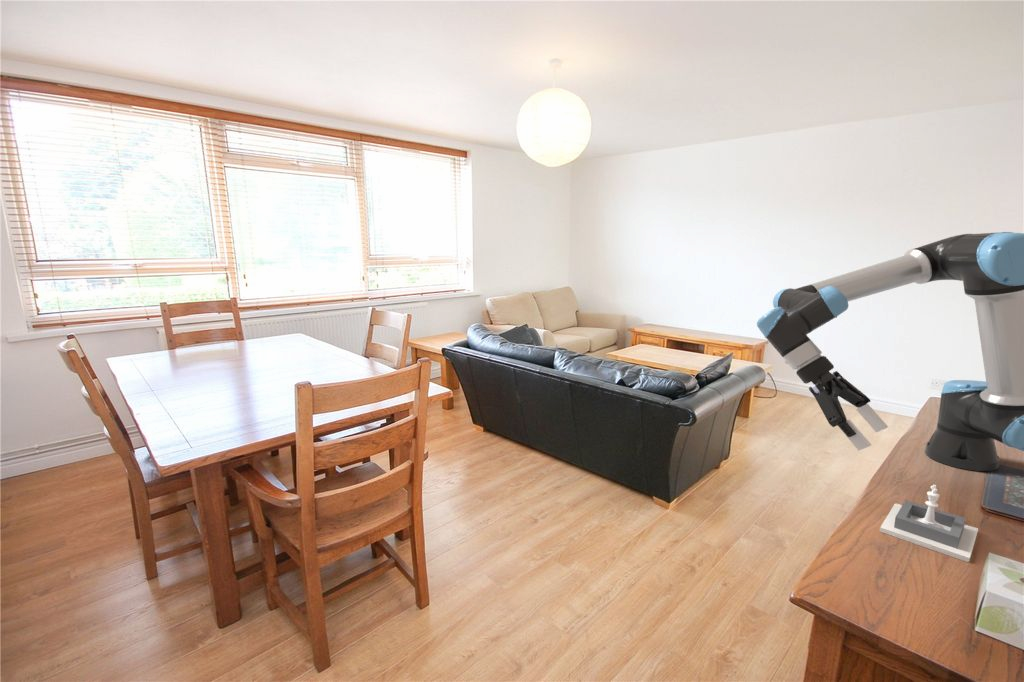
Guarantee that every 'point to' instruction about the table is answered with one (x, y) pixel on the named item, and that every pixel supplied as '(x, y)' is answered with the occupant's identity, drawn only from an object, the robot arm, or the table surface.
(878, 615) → the table surface
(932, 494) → the chess piece
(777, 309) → the robot arm
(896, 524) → the socket board
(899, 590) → the table surface
